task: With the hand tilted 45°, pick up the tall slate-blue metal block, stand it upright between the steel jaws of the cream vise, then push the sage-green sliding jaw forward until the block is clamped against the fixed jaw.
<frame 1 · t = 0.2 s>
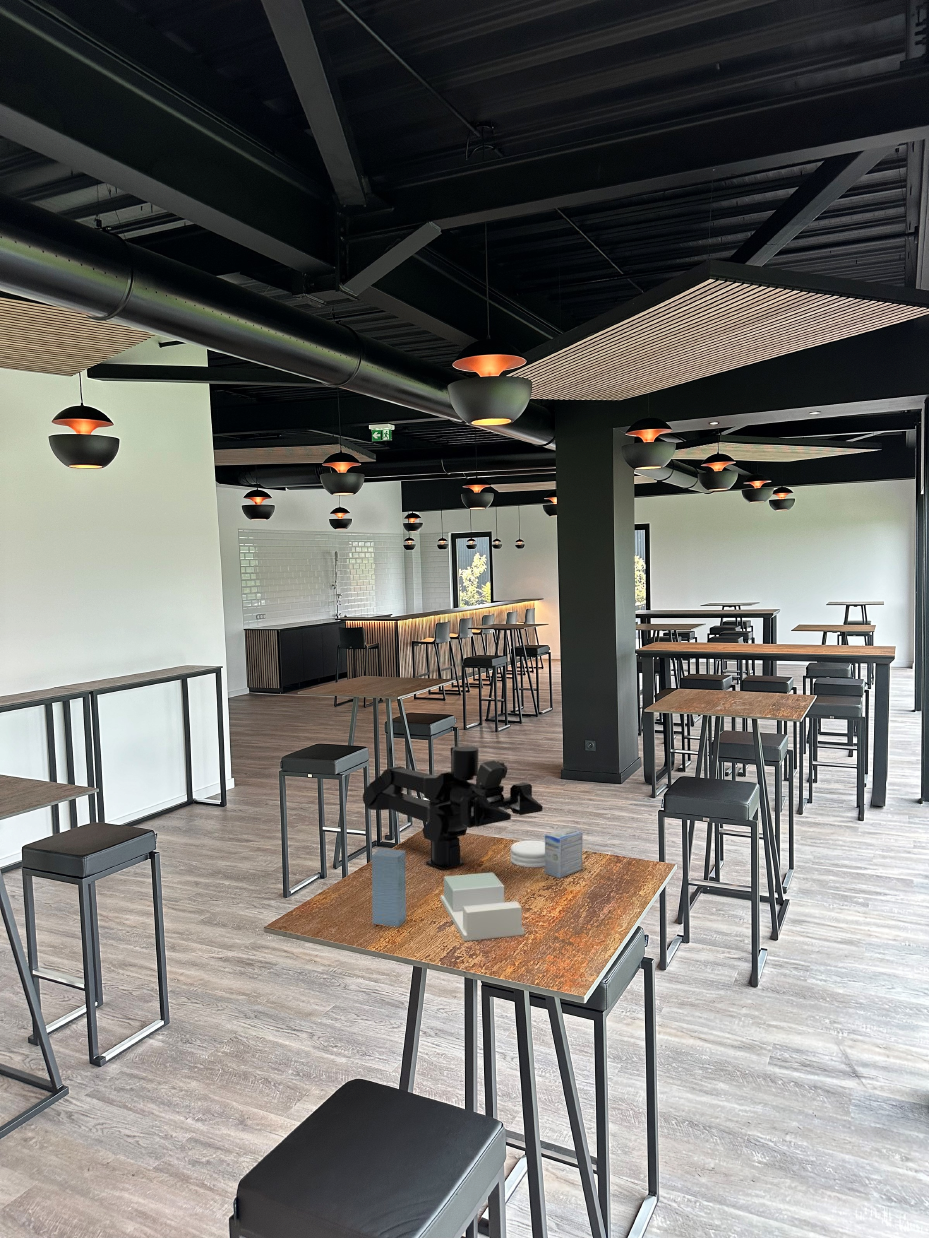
hand: (526, 812, 165), 17 cm above the table, tool horizontal, fingers open, 9 cm apart
medicine box: (563, 873, 179), on the table
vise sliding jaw: (473, 891, 159), point 3 cm above the table, slide at 0.0 cm
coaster: (532, 862, 187), on the table
slate-blue block: (389, 922, 152), on the table
vise bed: (484, 922, 152), on the table
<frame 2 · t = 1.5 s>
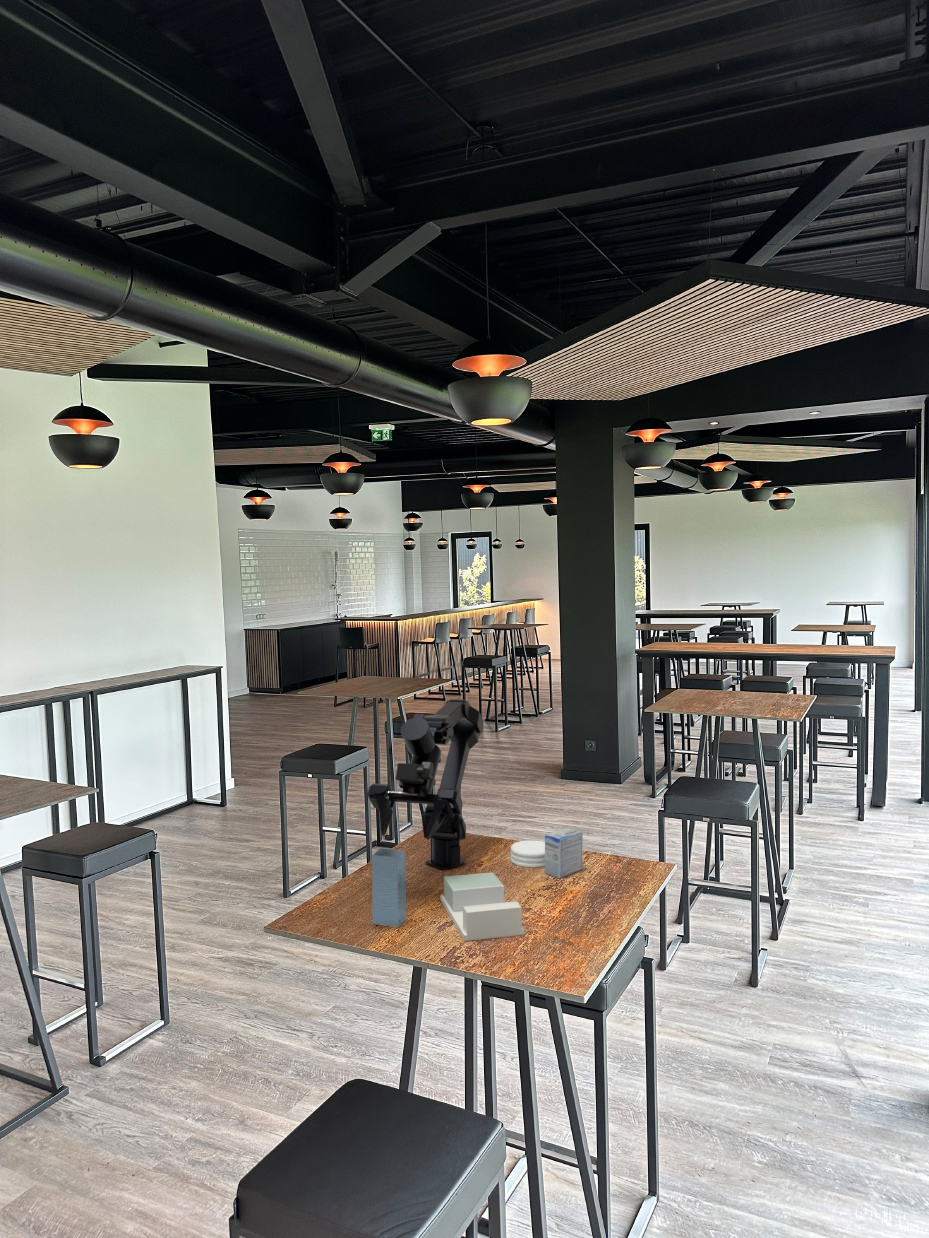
hand: (404, 836, 159), 14 cm above the table, tool tilted 45°, fingers open, 9 cm apart
nothing on the table moved.
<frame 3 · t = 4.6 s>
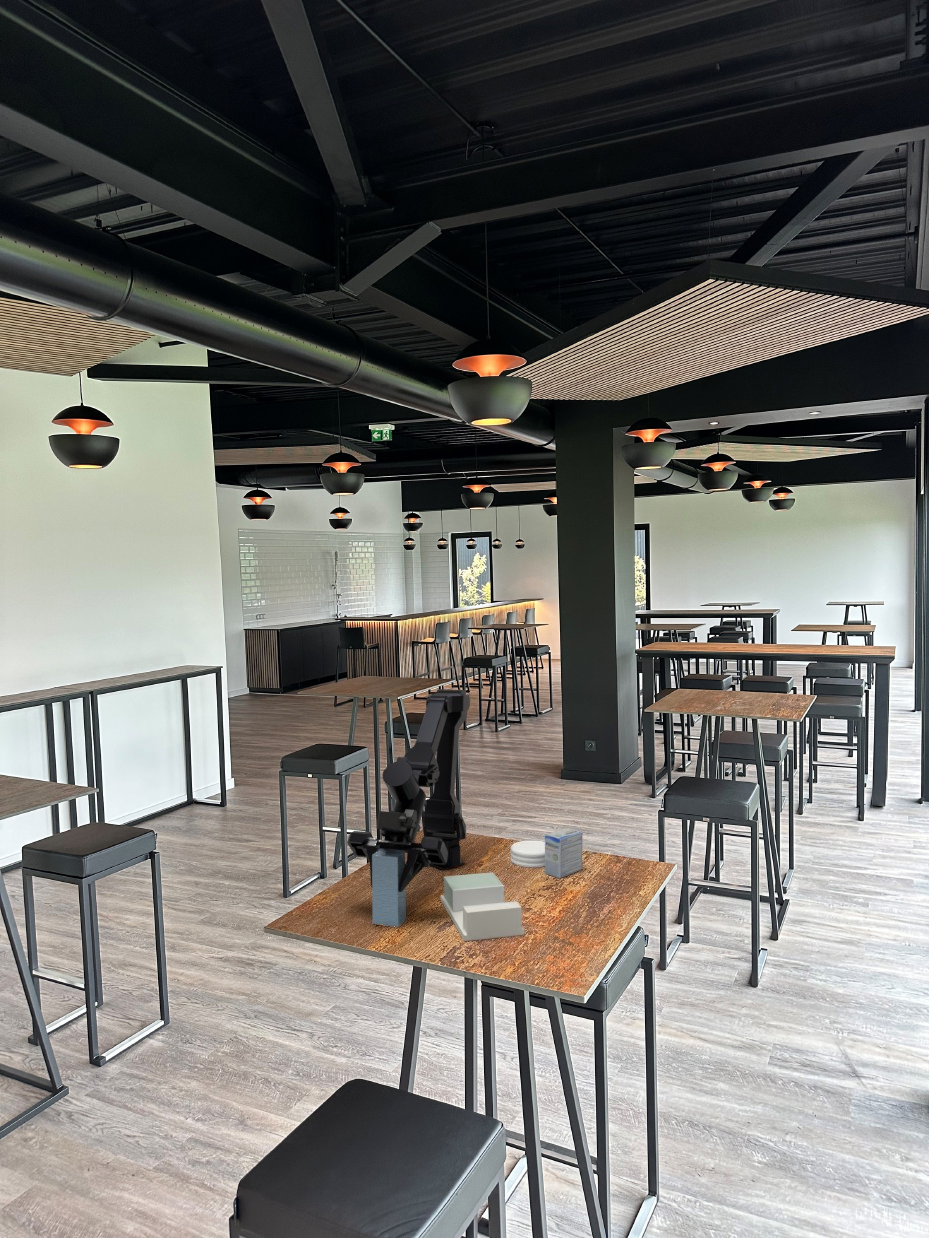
hand: (386, 889, 150), 7 cm above the table, tool tilted 45°, fingers closed on slate-blue block, 5 cm apart
slate-blue block: (389, 922, 152), on the table, touching gripper
everything else where it was.
when the fingers open (8 cm above the table, at t = 9.8 s): slate-blue block stays where it is, resting on vise bed.
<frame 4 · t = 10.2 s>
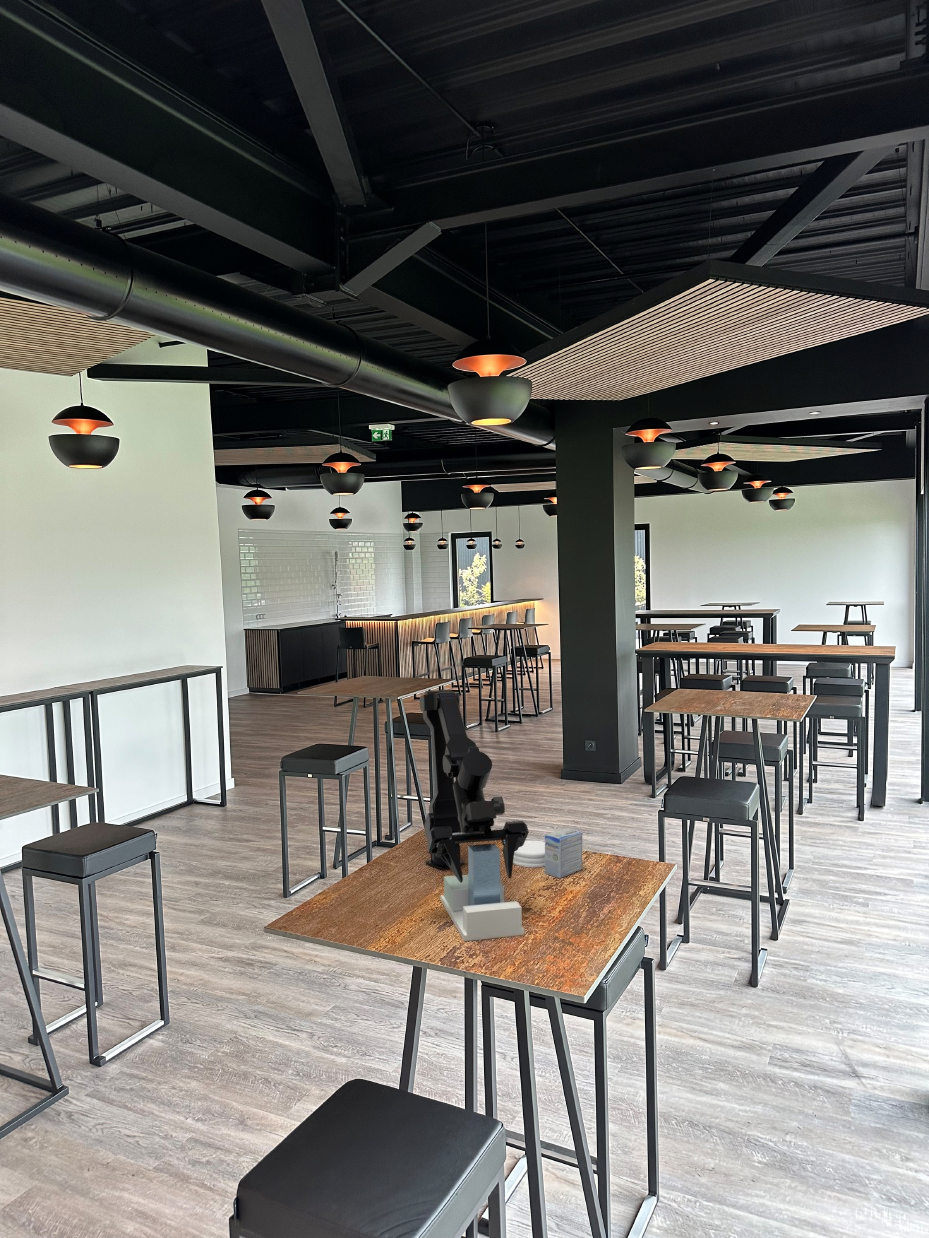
hand: (486, 879, 150), 9 cm above the table, tool tilted 45°, fingers open, 9 cm apart
slate-blue block: (484, 917, 152), point 1 cm above the table, touching vise bed
everything else where it was.
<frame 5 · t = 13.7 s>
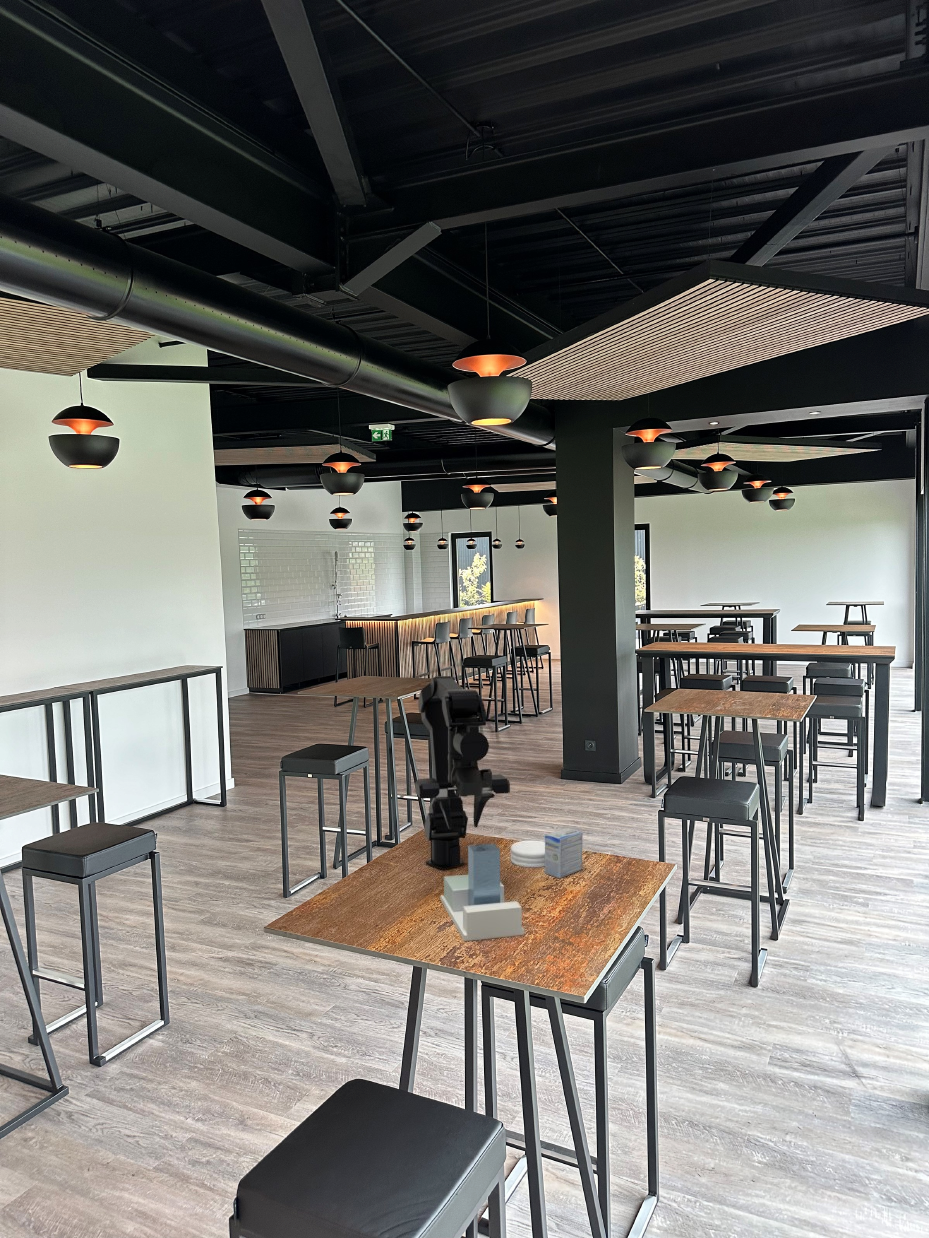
hand: (462, 827, 167), 13 cm above the table, tool pointing down, fingers open, 5 cm apart
nothing on the table moved.
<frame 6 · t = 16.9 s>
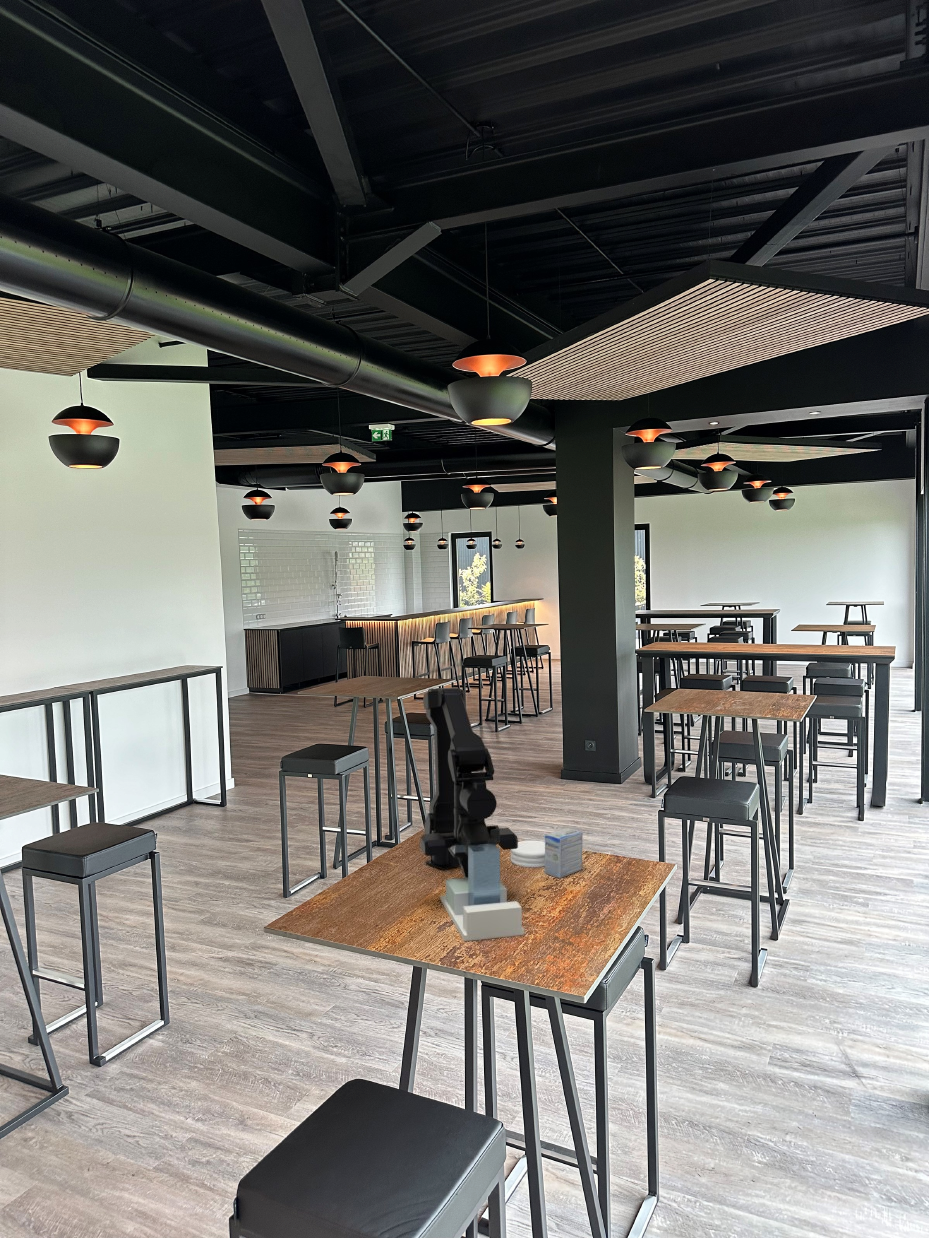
hand: (469, 884, 163), 3 cm above the table, tool pointing down, fingers closed, pressing on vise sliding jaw
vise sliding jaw: (475, 894, 158), point 3 cm above the table, slide at 1.7 cm, touching gripper
everything else where it was.
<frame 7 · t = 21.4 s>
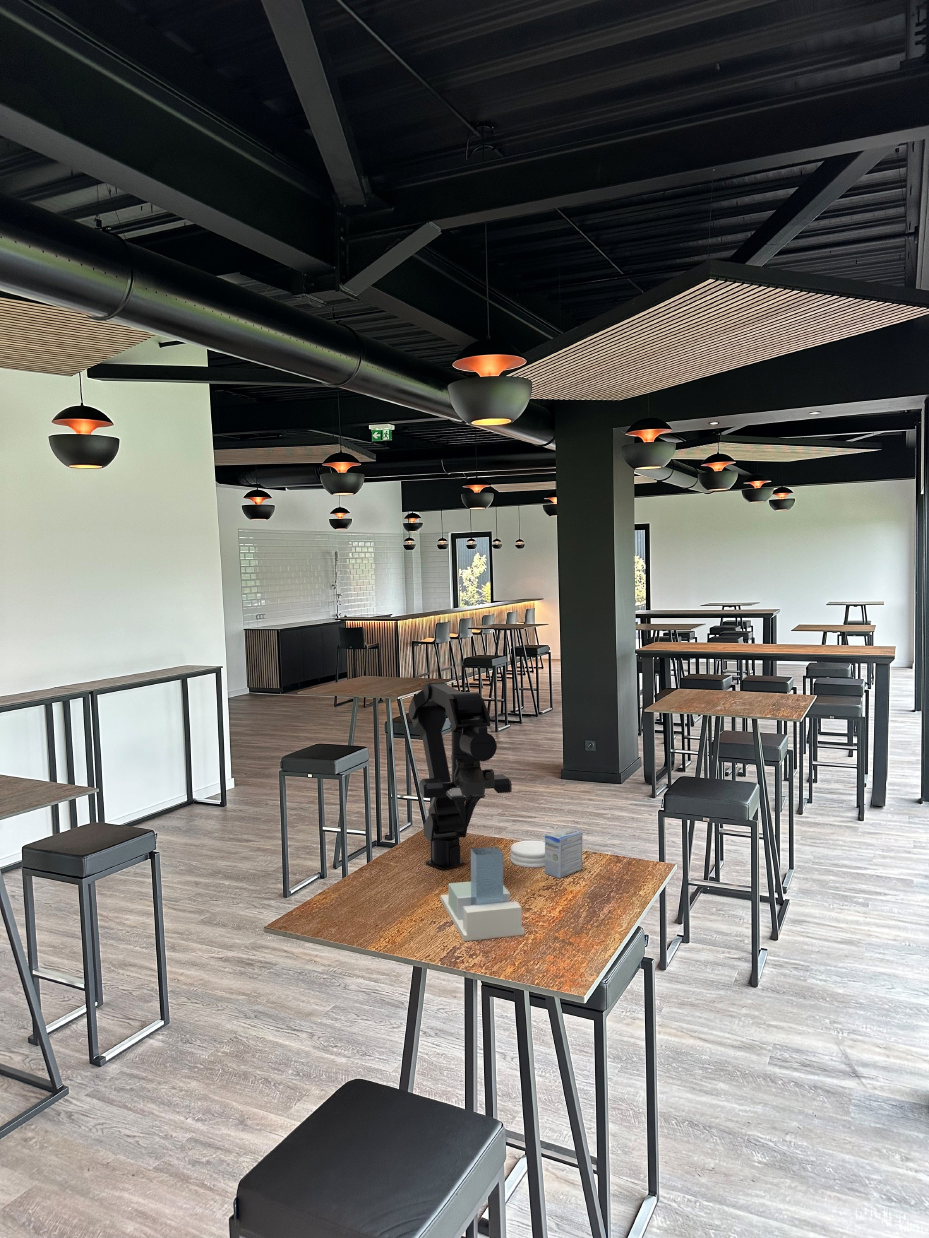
hand: (465, 826, 172), 12 cm above the table, tool pointing down, fingers closed
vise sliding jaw: (478, 898, 155), point 3 cm above the table, slide at 4.0 cm, touching slate-blue block
slate-blue block: (487, 921, 150), point 1 cm above the table, touching vise bed, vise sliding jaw
everything else where it was.
at the end: slate-blue block 0.2 cm from the target spot on the vise bed, point 1.0 cm above the vise bed's base; slate-blue block tilted 0°; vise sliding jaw slide at 4.0 cm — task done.
